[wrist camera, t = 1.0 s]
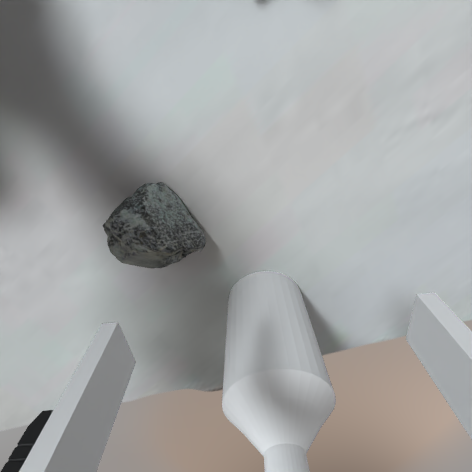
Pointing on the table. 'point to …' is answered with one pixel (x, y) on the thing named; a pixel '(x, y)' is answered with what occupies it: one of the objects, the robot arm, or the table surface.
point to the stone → (152, 228)
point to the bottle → (274, 371)
